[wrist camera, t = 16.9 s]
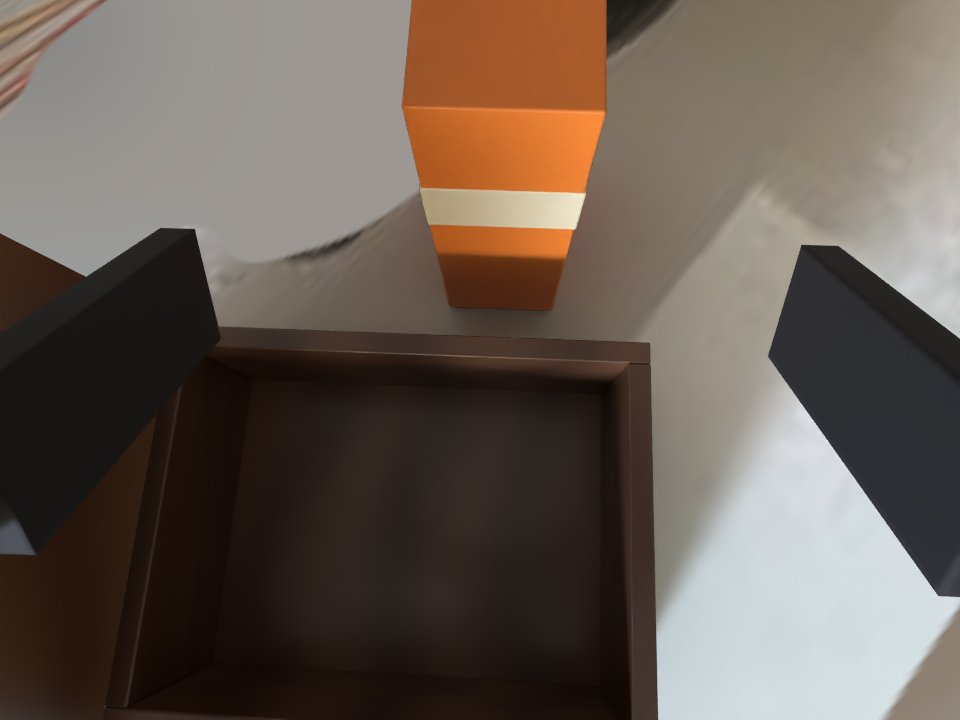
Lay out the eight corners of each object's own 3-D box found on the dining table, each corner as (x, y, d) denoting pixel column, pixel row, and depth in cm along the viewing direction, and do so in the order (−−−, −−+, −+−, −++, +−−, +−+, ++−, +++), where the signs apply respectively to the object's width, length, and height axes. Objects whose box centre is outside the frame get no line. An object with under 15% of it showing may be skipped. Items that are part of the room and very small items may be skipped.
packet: (447, 308, 29) (398, 109, 15) (457, 159, 31) (423, -147, 17) (553, 312, 29) (609, 114, 14) (556, 162, 31) (609, -144, 16)
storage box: (614, 381, 28) (650, 342, 22) (616, 702, 25) (659, 772, 18) (245, 366, 29) (170, 324, 22) (200, 677, 26) (97, 735, 19)
